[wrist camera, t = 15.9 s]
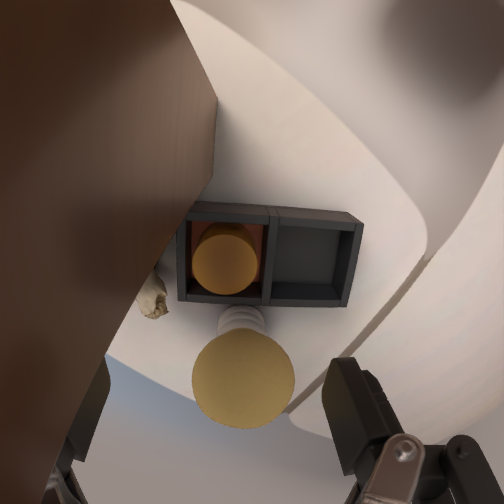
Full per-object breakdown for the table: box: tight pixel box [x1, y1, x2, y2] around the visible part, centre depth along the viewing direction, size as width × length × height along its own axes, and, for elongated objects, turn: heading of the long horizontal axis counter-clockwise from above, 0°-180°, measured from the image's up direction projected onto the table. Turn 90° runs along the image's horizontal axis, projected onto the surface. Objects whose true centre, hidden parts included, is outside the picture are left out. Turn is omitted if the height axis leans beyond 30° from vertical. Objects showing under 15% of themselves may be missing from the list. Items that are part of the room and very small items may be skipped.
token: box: [192, 222, 258, 295], centre depth 20 cm, size 4×4×3 cm
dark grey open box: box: [176, 201, 364, 307], centre depth 21 cm, size 12×6×3 cm, turn 86°
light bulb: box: [192, 305, 295, 429], centre depth 20 cm, size 6×6×10 cm
